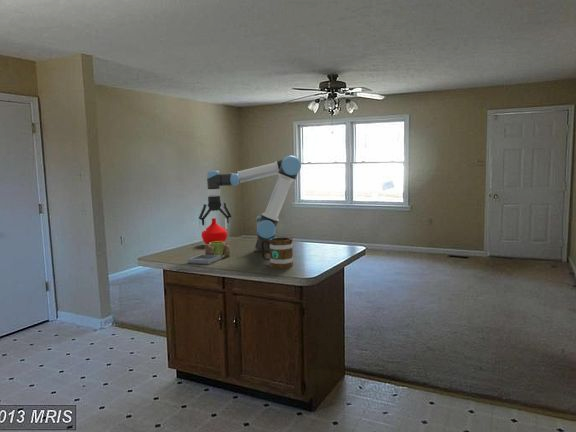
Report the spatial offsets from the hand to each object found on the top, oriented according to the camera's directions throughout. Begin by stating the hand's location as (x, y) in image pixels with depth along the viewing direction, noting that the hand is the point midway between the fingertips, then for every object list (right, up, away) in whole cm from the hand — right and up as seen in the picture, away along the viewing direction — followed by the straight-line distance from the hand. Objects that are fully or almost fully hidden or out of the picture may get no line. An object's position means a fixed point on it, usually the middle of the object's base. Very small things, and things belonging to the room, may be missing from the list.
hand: (215, 229), depth 283 cm
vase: (-7, -13, +42) cm, 45 cm away
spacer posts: (+1, -17, +1) cm, 17 cm away
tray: (-4, -19, -14) cm, 23 cm away
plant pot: (+1, -17, +1) cm, 17 cm away
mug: (+39, -19, -29) cm, 52 cm away
